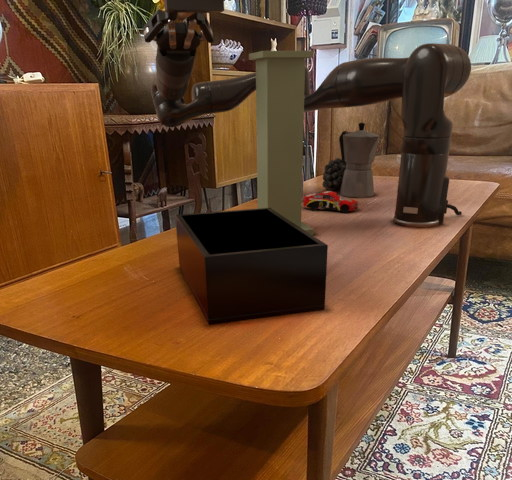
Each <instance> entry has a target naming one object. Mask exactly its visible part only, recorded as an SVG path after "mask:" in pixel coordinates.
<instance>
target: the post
mask: <svg viewBox="0 0 512 480" xmlns="http://www.w3.org/2000/svg"><path fill="white" fill-rule="evenodd" d="M312 58H314V51H313V50H260V51H256V52H252V53H249V54H248V61H255V72H256V90H255V108H256V110H255V112H256V113H255V114H256V115H255V117H256V186H257V187H256V189H257V190H256V193H257V195H256V197H257V199H256V200H257V209H259V208H271V209H273V210H274V211H276V212H277V213H279V214H280V215H282V216H284V217H285V218H287V219H288V220H290V221H291V222H293V223H294V224H296V225H297V226H299V227H300V228H302V229H304V230H305V231H307V232H308V233H310V234H311V235H313V236H314V235H315V229H314V228H313V227H311V225H308V224H306V223H305V222H303V221H302V206H303V199H302V171H303V165H304V164H303V163H304V161H303V160H304V127H305V126H304V124H305V123H304V122H305V121H304V120H305V119H304V118H305V112H304V87H305V66H306V59H312Z"/></svg>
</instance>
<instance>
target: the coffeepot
mask: <svg viewBox="0 0 512 480" xmlns="http://www.w3.org/2000/svg"><path fill="white" fill-rule="evenodd" d="M365 126H366V123H365V122H358V130H354V131H348V130H343V131H342V132H341V134H340V135H339V137H338V141H339V142H338V143H339V149H340V155H341V159H342V162H343V163H345V164H346V169H345V171H344V175H343V180H342V184H341V189H340V191H339V194H340V195H341V196H343V197H346V198H351V199H362V198H363V199H365V198H370V197H371V198H372V197H373V196H374V195H375V186H374V185H375V184H374V172H373V170H372V167H373V163H374V162H375V158H376V154H377V149H378V145H379V141H380V137H381V136H380V135H379V134H376V133H374V132H370V131H367V130H365Z"/></svg>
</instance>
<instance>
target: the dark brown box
mask: <svg viewBox="0 0 512 480" xmlns="http://www.w3.org/2000/svg"><path fill="white" fill-rule="evenodd" d="M163 8H164V12H177V18H176V20H178V21H181V22H183V20H185V19H186V18H188V17H189V16H191V15H192V14H194V13H204V14H221V13H223V12H224V11H225V0H163Z"/></svg>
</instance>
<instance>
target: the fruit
mask: <svg viewBox="0 0 512 480" xmlns="http://www.w3.org/2000/svg"><path fill="white" fill-rule="evenodd" d="M345 169H346V164H345V163H343V162H342V158H339V157H335V158H334V159H333V160H332V159H331V160H329V161H328V162H327V164H325V165H324V171H323V175H322V180H323V181H322V184H321V185H322V187H323V188H326V191H332V192H335V191H336V192H340V189H341V184H342V180H343V175H344V171H345Z"/></svg>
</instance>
